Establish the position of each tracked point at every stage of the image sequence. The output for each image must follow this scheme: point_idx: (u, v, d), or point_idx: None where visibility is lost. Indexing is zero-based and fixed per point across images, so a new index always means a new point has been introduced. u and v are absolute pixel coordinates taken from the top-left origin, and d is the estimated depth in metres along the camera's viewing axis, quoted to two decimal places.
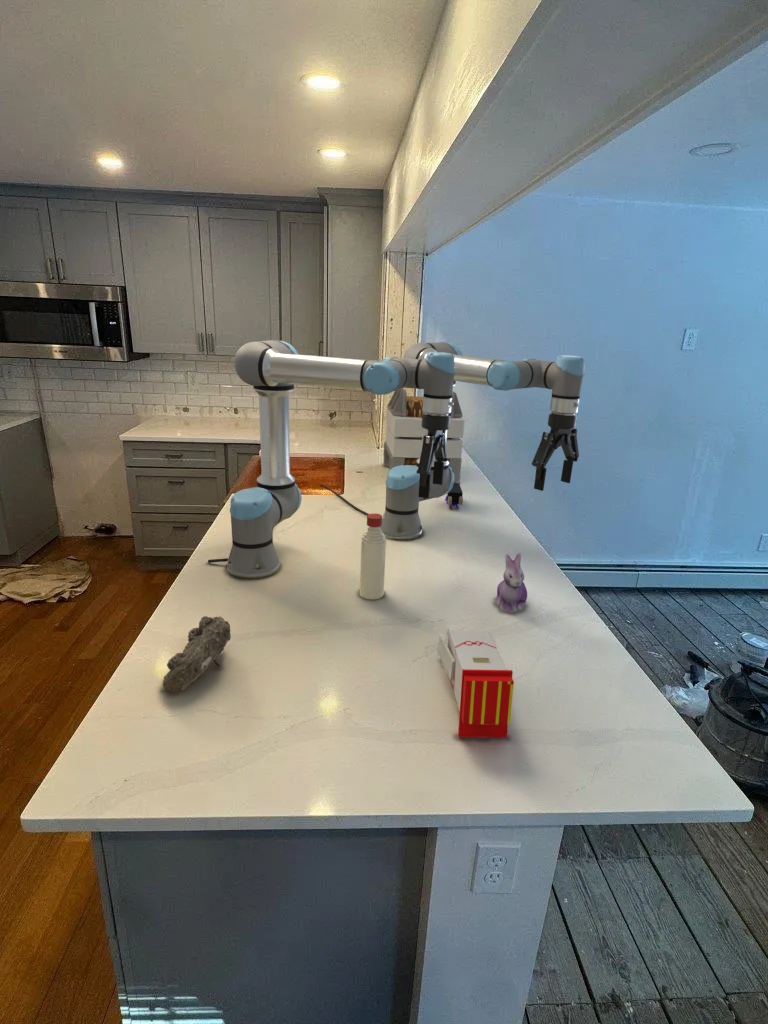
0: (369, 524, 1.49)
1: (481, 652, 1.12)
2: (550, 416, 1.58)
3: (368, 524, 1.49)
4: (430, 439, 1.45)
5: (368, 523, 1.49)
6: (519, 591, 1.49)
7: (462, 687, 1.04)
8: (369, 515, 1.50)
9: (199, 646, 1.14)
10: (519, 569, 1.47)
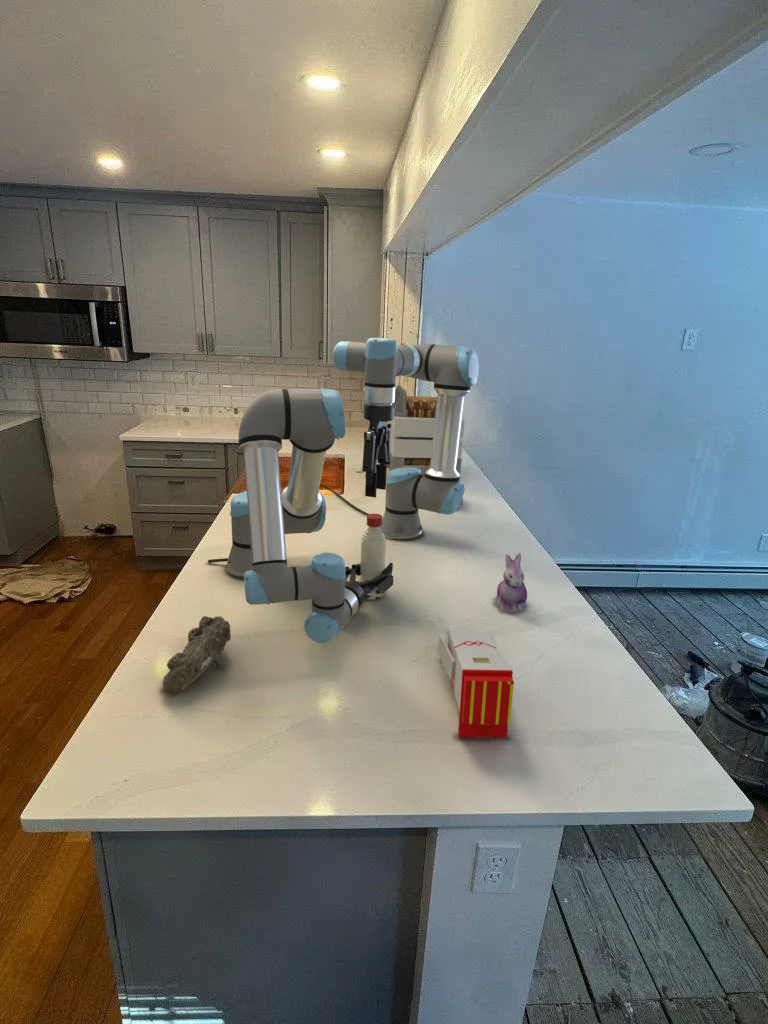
0: (369, 524, 1.49)
1: (481, 652, 1.12)
2: None
3: (368, 524, 1.49)
4: None
5: (368, 523, 1.49)
6: (519, 591, 1.49)
7: (462, 687, 1.04)
8: (369, 515, 1.50)
9: (199, 646, 1.14)
10: (519, 569, 1.47)
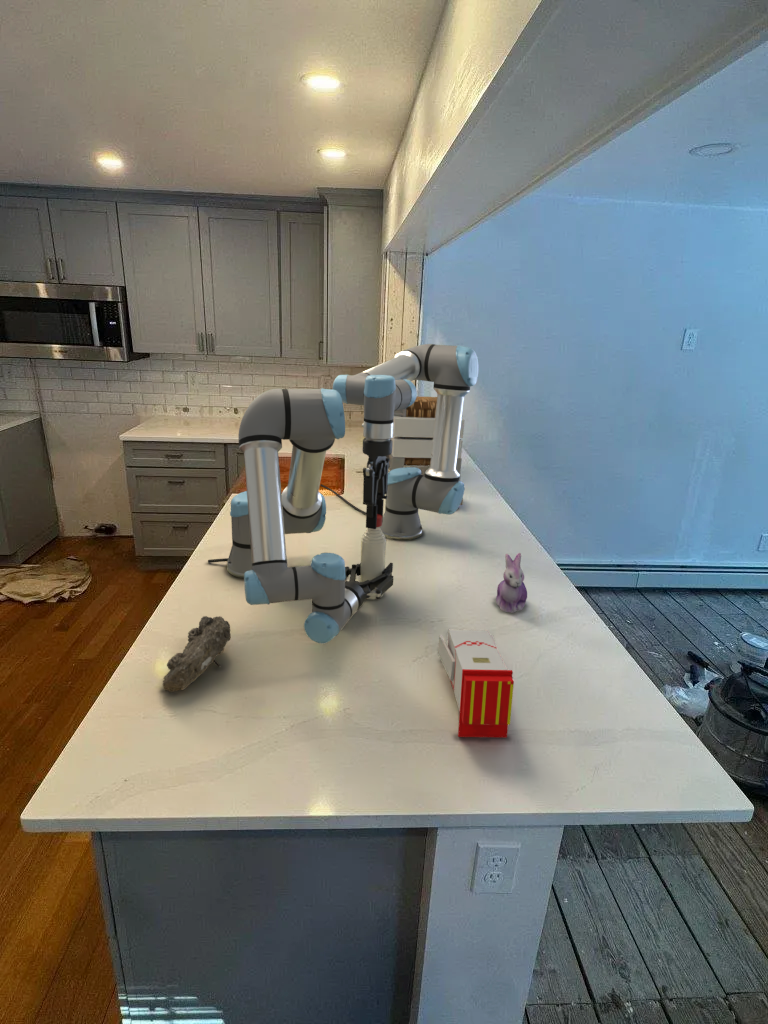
0: None
1: (481, 652, 1.12)
2: None
3: None
4: None
5: None
6: (519, 591, 1.49)
7: (462, 687, 1.04)
8: None
9: (199, 646, 1.14)
10: (519, 569, 1.47)
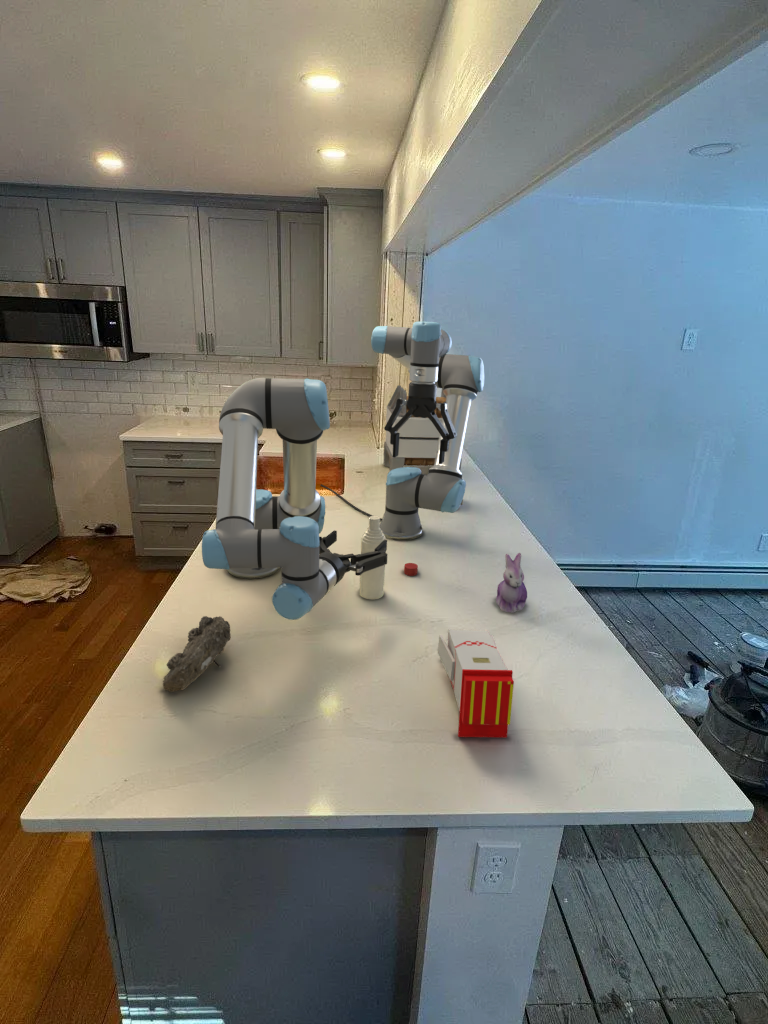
0: (415, 573, 1.69)
1: (481, 652, 1.12)
2: None
3: (414, 574, 1.69)
4: None
5: (414, 573, 1.69)
6: (519, 591, 1.49)
7: (462, 687, 1.04)
8: (409, 567, 1.69)
9: (199, 646, 1.14)
10: (519, 569, 1.47)
